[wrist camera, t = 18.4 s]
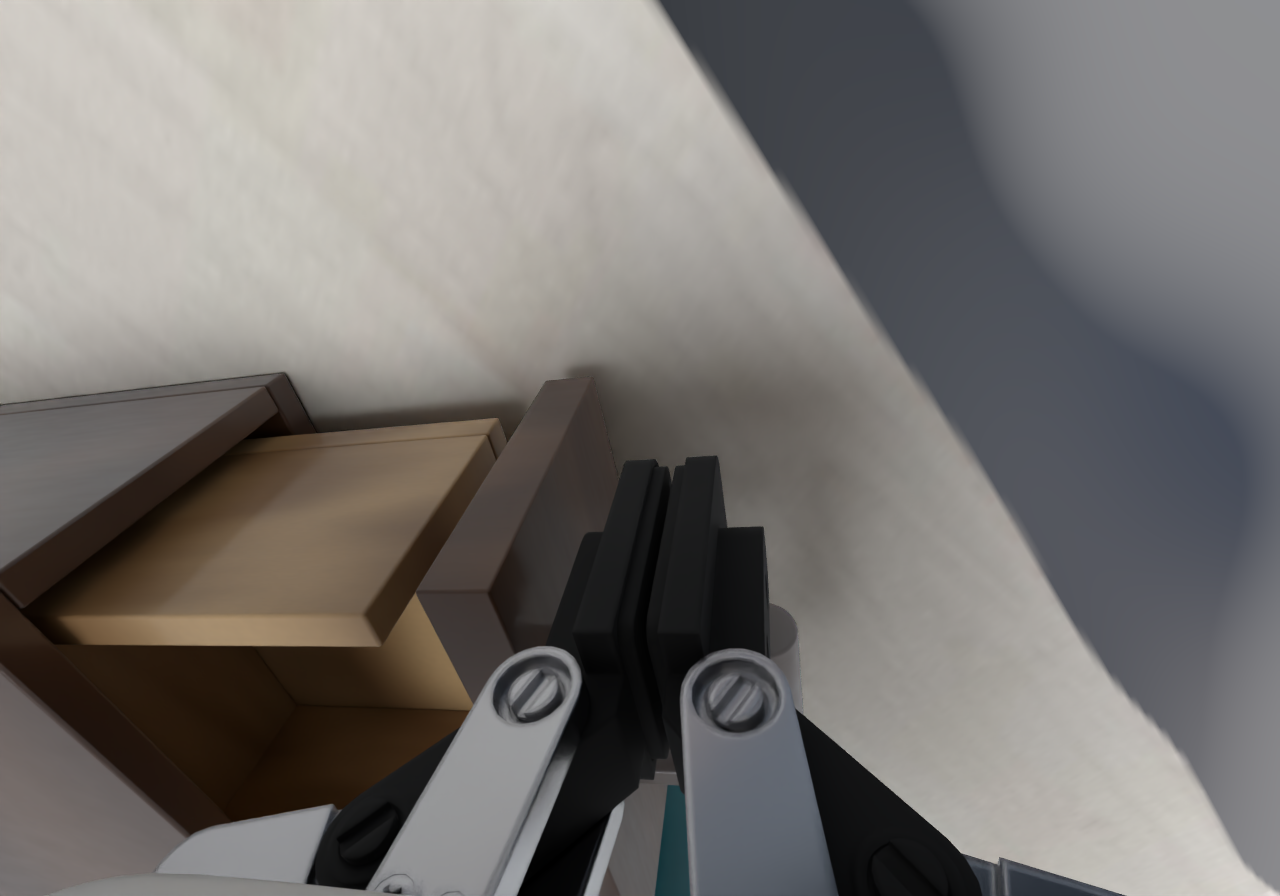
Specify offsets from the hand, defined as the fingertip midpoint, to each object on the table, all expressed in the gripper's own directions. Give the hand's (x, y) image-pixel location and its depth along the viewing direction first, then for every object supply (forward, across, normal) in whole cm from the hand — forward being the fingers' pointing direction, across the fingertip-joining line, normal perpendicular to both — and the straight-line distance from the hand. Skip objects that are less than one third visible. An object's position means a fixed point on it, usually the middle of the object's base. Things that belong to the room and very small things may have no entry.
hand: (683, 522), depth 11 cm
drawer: (+4, +7, +5) cm, 10 cm away
